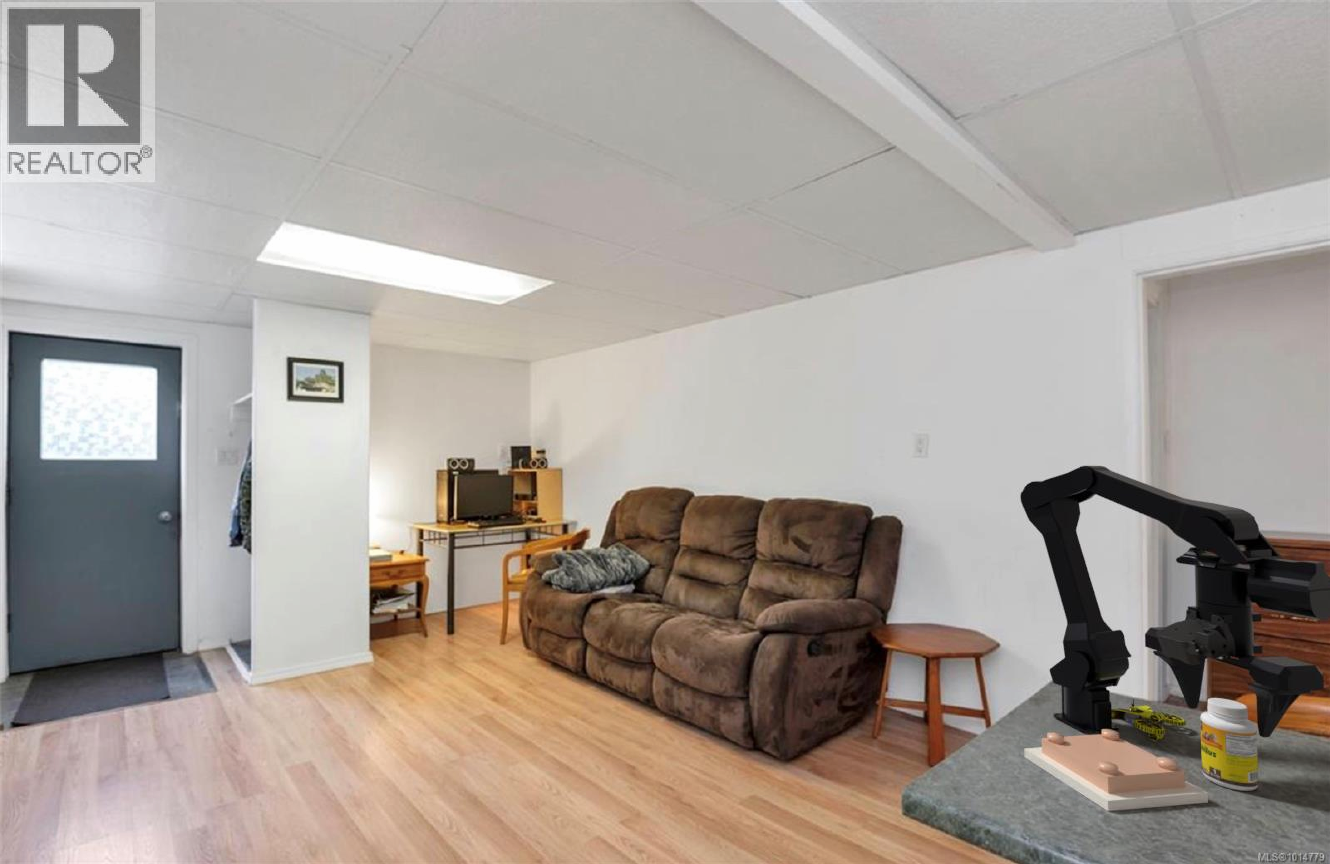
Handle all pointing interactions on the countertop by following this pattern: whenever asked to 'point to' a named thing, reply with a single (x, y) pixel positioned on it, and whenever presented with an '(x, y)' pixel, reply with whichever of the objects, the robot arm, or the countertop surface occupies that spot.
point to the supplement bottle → (1229, 745)
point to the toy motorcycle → (1147, 719)
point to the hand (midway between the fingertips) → (1226, 721)
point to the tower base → (1118, 798)
